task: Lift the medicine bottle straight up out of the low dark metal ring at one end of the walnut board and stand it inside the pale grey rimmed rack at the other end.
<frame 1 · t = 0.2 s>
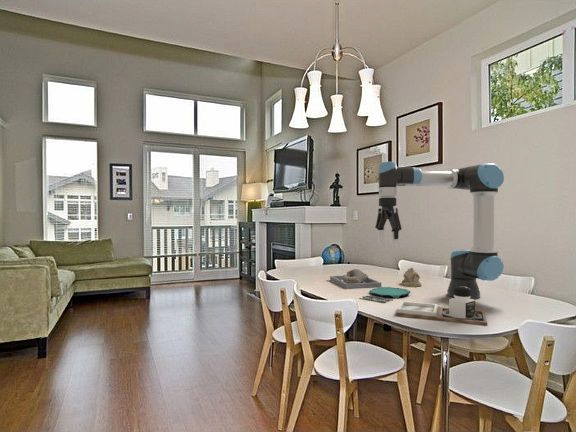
hand: (387, 245, 166), 28 cm above the table, tool pointing down, fingers open, 13 cm apart
grey rectangular tray: (354, 283, 225), on the table
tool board: (439, 314, 155), on the table
ceramic model: (412, 285, 220), on the table
grey rounded lump: (354, 284, 225), resting in grey rectangular tray
cutlery set: (385, 297, 191), on the table
medicine bottle: (462, 317, 152), resting on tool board
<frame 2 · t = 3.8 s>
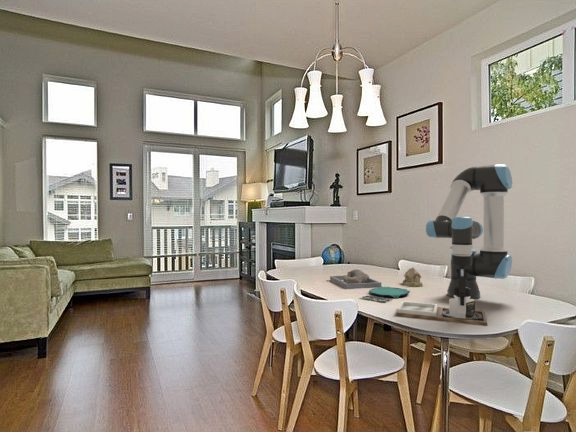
hand: (462, 310, 152), 3 cm above the table, tool pointing down, fingers closed on medicine bottle, 9 cm apart
grey rounded lump: (355, 284, 224), resting in grey rectangular tray
medicine bottle: (462, 317, 152), resting on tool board, touching gripper
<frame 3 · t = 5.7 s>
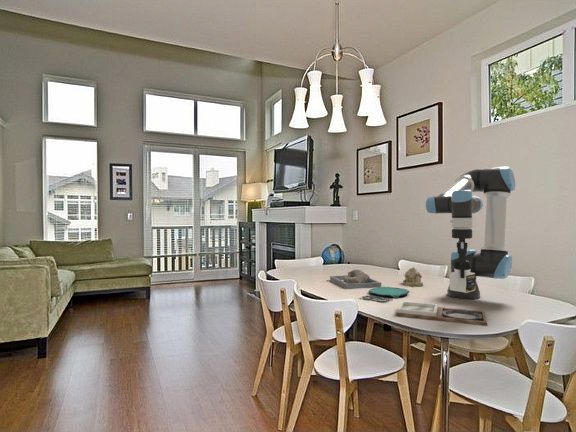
hand: (462, 283, 152), 13 cm above the table, tool pointing down, fingers closed on medicine bottle, 9 cm apart
medicine bottle: (462, 290, 152), point 10 cm above the table, touching gripper
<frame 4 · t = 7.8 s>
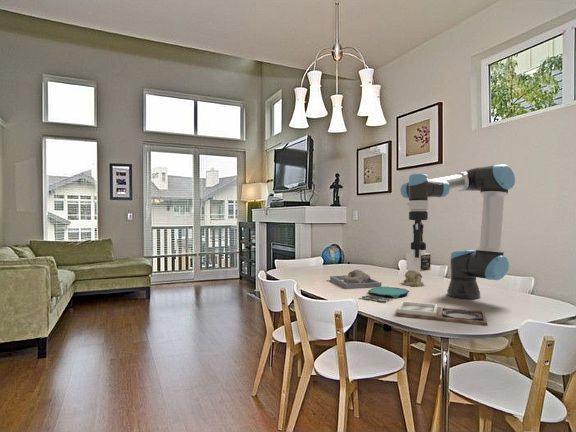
hand: (418, 263, 159), 21 cm above the table, tool pointing down, fingers closed on medicine bottle, 9 cm apart
medicine bottle: (418, 270, 159), point 18 cm above the table, touching gripper
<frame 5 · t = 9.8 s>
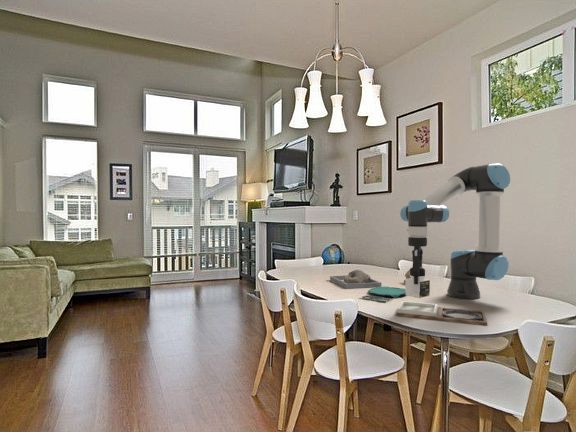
hand: (417, 289, 159), 10 cm above the table, tool pointing down, fingers closed on medicine bottle, 9 cm apart
grey rounded lump: (356, 284, 222), resting in grey rectangular tray
medicine bottle: (417, 296, 159), point 7 cm above the table, touching gripper
when the fingers open (5 cm above the table, at t = 11.8 s): medicine bottle stays where it is, resting on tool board.
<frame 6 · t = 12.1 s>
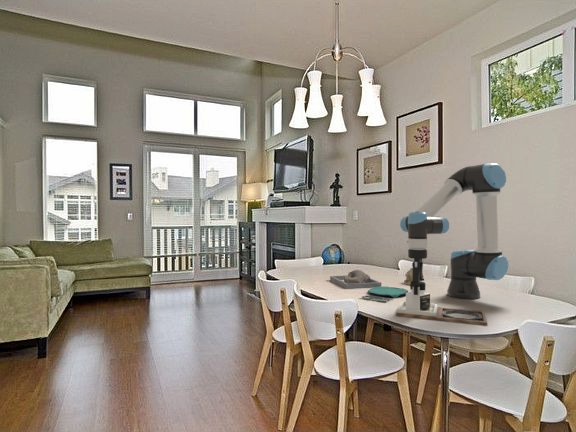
hand: (417, 299, 159), 6 cm above the table, tool pointing down, fingers open, 13 cm apart
grey rounded lump: (355, 284, 222), resting in grey rectangular tray
medicine bottle: (417, 310, 159), point 1 cm above the table, touching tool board
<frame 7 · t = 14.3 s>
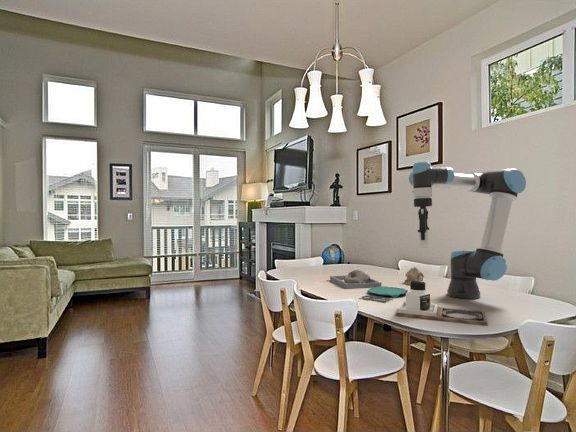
hand: (424, 246, 165), 27 cm above the table, tool pointing down, fingers open, 13 cm apart
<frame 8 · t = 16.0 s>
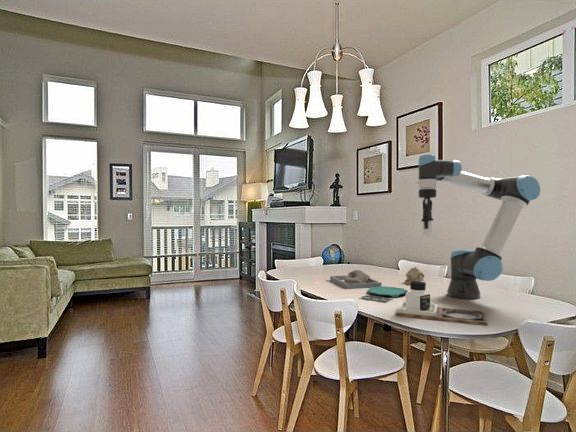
hand: (427, 235, 172), 32 cm above the table, tool pointing down, fingers open, 13 cm apart
at the end: medicine bottle 0.1 cm from the target spot on the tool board, point 1.0 cm above the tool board's base; medicine bottle tilted 0°; the gripper is holding nothing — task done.
